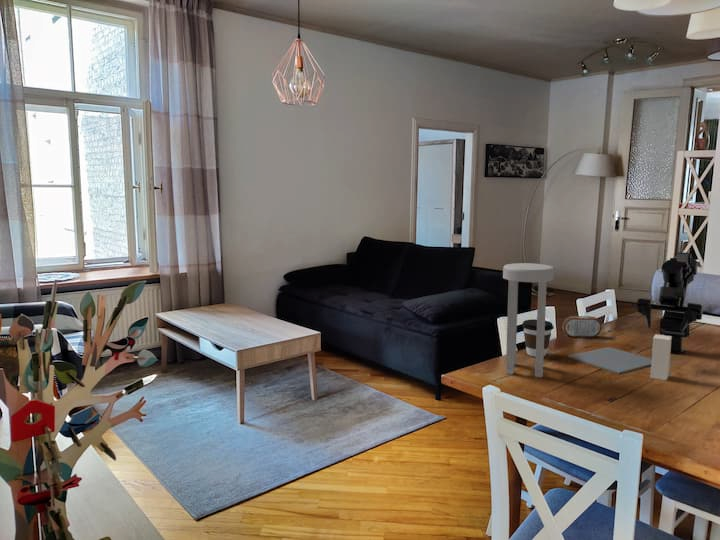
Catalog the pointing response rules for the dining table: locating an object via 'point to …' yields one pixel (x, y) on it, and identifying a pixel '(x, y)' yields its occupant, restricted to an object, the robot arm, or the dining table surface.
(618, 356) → the mat
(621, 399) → the dining table surface
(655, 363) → the card box
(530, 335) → the coffee cup
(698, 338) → the dining table surface
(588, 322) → the tin
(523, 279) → the stool
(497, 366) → the dining table surface
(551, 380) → the dining table surface
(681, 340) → the robot arm
